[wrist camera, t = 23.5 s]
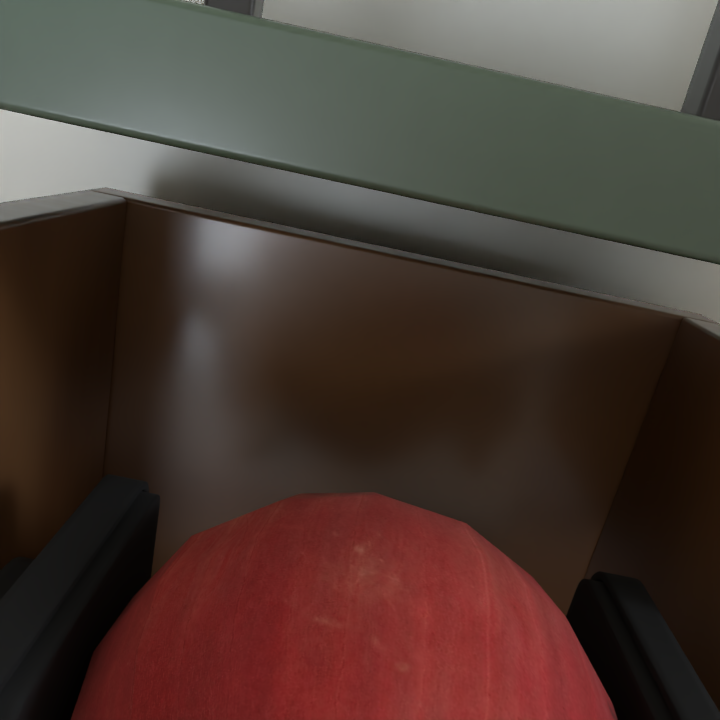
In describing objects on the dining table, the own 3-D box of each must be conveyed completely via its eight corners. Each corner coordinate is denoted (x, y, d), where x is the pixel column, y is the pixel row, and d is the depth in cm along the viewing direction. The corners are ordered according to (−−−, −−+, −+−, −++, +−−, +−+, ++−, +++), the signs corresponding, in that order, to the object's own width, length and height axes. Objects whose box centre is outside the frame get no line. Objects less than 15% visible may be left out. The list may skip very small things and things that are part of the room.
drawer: (98, -301, 10) (-393, -1077, 4) (904, -107, 11) (1713, -500, 4) (41, 654, 16) (-185, 990, 10) (556, 751, 17) (667, 1133, 10)
